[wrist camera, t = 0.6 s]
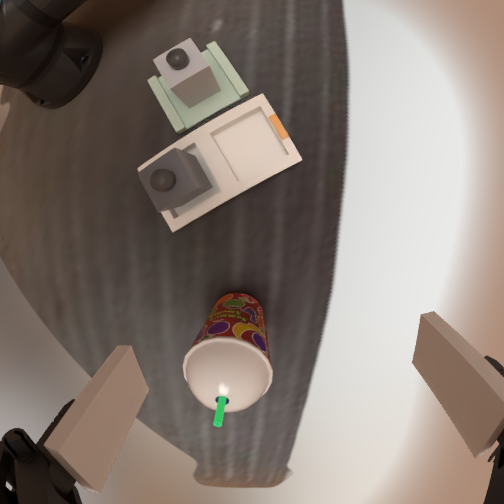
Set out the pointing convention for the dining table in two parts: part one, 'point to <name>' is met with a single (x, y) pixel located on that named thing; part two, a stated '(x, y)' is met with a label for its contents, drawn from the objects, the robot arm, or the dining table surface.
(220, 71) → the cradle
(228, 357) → the smoothie
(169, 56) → the plug
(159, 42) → the dining table surface
